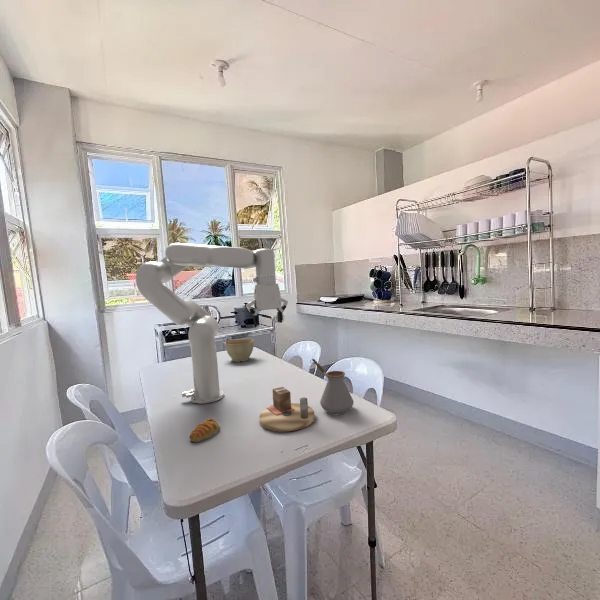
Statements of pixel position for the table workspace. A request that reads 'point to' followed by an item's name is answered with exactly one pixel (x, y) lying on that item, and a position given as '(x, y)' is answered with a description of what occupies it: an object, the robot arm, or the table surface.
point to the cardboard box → (281, 399)
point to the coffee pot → (335, 393)
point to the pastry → (204, 430)
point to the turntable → (288, 417)
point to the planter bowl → (239, 349)
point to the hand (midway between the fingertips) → (268, 323)
